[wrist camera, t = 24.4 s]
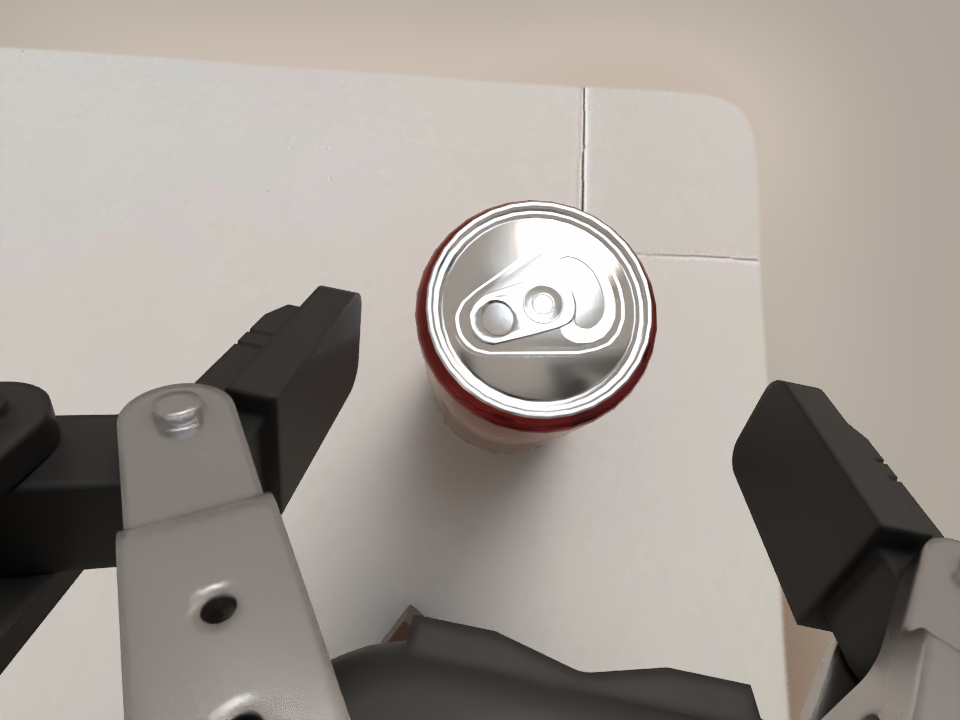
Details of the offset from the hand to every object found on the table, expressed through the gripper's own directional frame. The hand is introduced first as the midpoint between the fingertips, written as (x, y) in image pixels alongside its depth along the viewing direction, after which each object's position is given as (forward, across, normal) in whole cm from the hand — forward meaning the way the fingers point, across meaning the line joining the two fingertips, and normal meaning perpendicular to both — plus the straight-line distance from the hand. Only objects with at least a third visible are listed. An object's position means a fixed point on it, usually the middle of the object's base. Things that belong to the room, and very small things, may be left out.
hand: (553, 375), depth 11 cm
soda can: (+14, 0, +10) cm, 17 cm away
